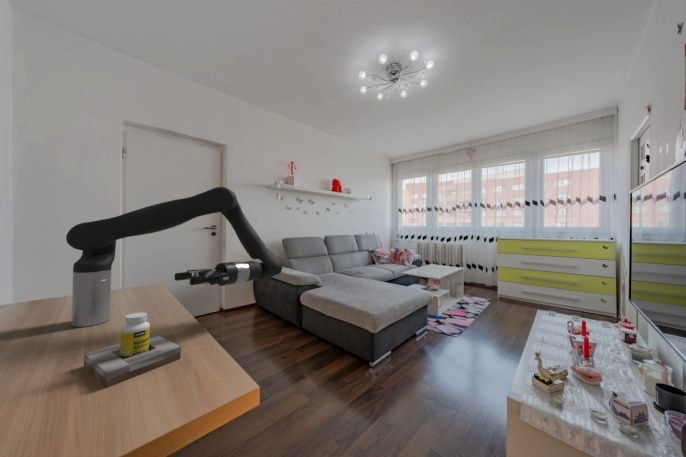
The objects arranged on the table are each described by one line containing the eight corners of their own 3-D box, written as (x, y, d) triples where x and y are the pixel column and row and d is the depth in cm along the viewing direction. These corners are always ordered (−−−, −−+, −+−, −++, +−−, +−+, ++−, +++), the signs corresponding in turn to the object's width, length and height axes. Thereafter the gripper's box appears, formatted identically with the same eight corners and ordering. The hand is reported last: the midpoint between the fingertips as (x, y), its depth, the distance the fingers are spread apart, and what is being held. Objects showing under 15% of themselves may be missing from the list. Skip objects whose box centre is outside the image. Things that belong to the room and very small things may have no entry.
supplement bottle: (132, 363, 58) (133, 319, 58) (113, 360, 59) (114, 317, 59) (154, 352, 64) (155, 312, 64) (136, 349, 65) (137, 310, 65)
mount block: (84, 366, 59) (84, 353, 59) (154, 344, 71) (154, 333, 71) (106, 387, 52) (106, 372, 52) (180, 358, 64) (180, 346, 64)
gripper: (220, 259, 92) (171, 263, 78) (246, 264, 84) (196, 269, 71) (219, 280, 92) (169, 288, 78) (245, 287, 84) (195, 296, 70)
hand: (182, 279), depth 74 cm, fingers open, 8 cm apart
